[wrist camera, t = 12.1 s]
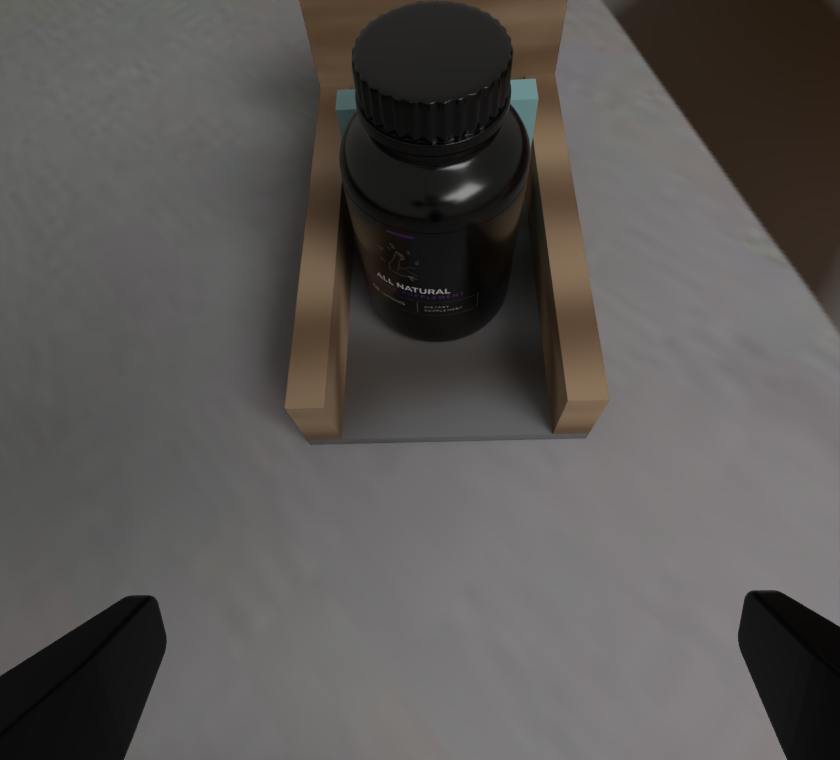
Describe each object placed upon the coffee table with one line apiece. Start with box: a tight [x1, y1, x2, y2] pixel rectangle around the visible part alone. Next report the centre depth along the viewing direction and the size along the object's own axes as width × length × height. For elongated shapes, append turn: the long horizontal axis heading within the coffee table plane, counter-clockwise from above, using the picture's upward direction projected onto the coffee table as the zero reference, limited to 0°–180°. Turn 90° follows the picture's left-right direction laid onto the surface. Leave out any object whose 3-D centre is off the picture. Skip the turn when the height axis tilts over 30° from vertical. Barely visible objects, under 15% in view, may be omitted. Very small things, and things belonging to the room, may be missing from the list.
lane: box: [284, 0, 610, 445], centre depth 24 cm, size 20×12×9 cm, turn 0°
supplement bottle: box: [339, 0, 531, 342], centre depth 21 cm, size 7×7×12 cm
